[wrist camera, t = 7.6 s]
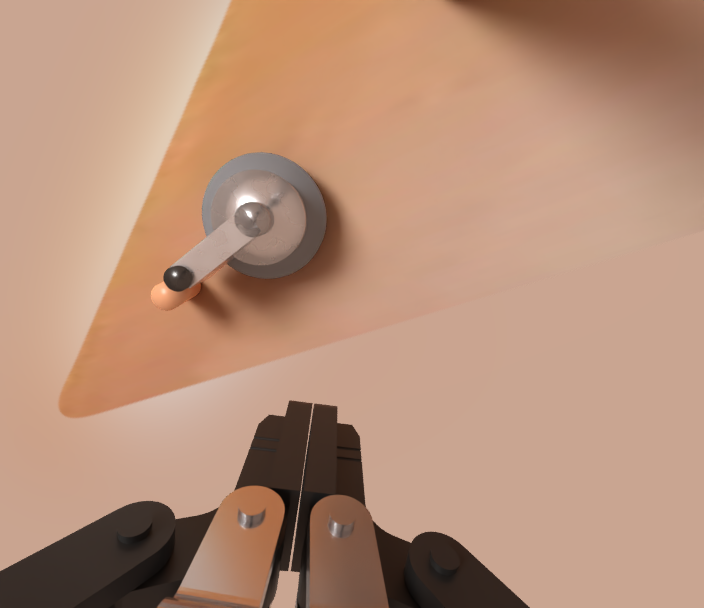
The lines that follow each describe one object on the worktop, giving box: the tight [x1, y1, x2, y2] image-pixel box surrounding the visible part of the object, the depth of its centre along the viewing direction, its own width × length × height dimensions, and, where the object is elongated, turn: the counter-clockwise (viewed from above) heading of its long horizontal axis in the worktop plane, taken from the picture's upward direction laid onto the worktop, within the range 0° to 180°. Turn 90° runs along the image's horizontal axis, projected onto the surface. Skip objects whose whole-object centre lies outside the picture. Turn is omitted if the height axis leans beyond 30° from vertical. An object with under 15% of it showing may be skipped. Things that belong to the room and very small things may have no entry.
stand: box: [151, 152, 327, 311], centre depth 30 cm, size 15×10×4 cm, turn 148°
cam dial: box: [164, 170, 307, 292], centre depth 27 cm, size 11×7×4 cm, turn 127°
